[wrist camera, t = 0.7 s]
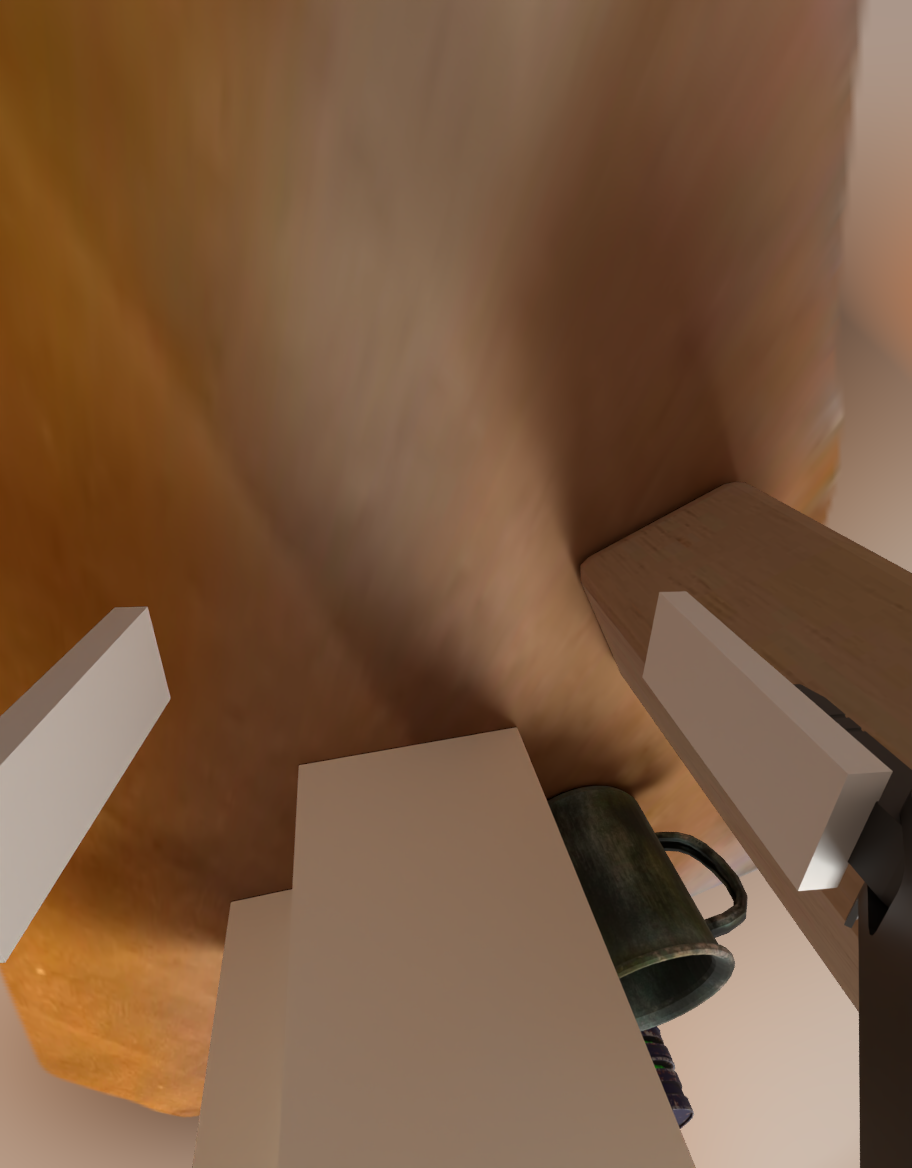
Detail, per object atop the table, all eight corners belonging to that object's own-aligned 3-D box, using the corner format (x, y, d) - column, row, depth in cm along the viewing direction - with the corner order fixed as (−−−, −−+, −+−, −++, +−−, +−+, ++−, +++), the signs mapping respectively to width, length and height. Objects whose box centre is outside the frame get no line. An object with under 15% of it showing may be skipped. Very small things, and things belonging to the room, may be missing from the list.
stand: (298, 765, 33) (213, 2413, 8) (517, 727, 35) (994, 1902, 10) (323, 858, 38) (319, 2013, 13) (511, 819, 40) (813, 1738, 15)
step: (230, 902, 38) (162, 1375, 22) (396, 867, 40) (443, 1277, 24) (255, 954, 43) (211, 1383, 26) (403, 920, 45) (448, 1300, 28)
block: (617, 673, 34) (892, 1067, 18) (567, 559, 29) (898, 976, 12) (760, 599, 34) (1188, 940, 17) (736, 468, 28) (1338, 782, 11)
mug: (497, 804, 39) (557, 993, 29) (682, 747, 40) (800, 911, 30) (515, 879, 45) (569, 1057, 35) (675, 828, 46) (772, 987, 36)
